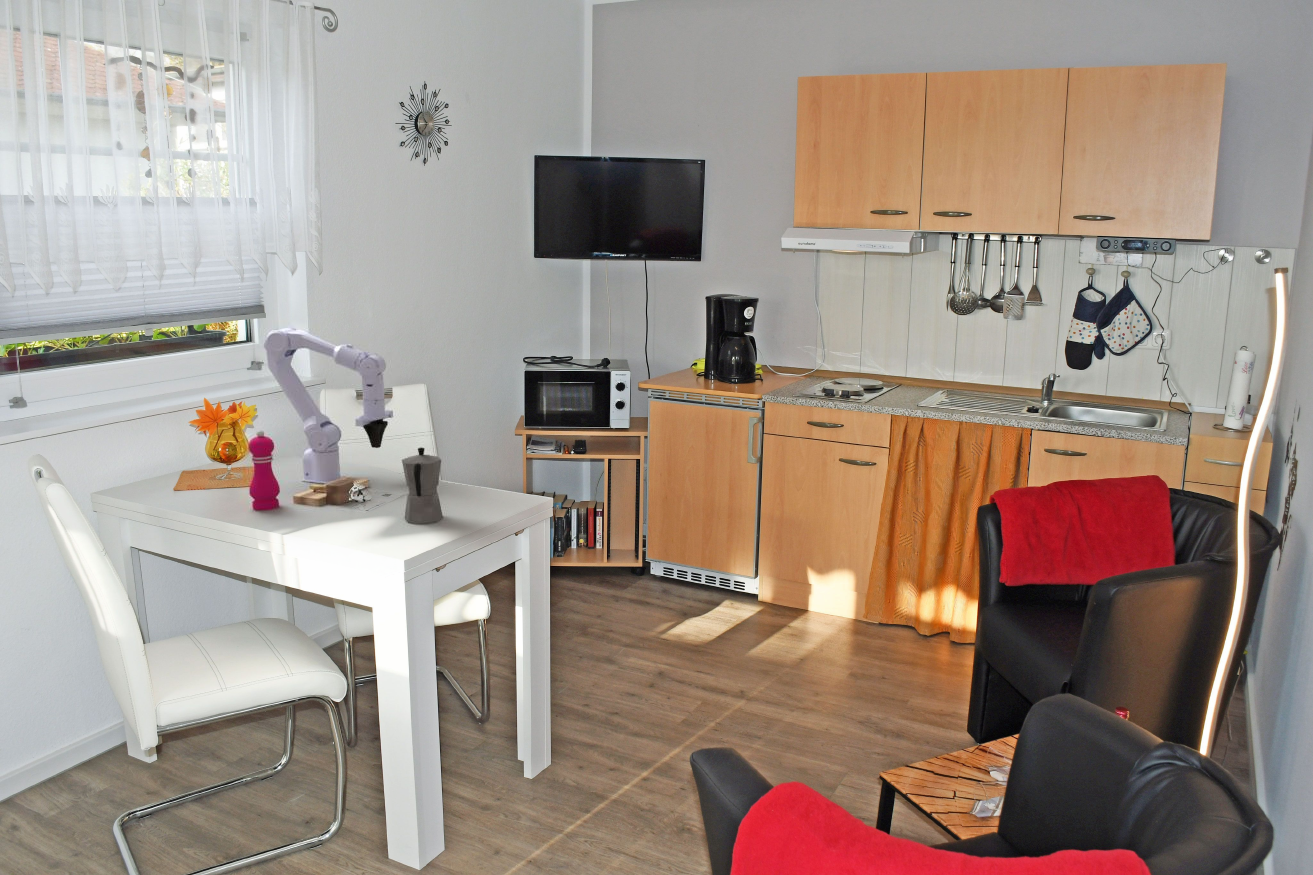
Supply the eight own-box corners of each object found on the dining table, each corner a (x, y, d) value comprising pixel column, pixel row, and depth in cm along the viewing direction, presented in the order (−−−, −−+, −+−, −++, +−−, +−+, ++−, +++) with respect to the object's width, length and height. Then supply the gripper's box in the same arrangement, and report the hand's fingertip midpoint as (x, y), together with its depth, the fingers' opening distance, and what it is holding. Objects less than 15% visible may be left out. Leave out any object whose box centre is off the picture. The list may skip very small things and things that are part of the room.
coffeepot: (408, 511, 246) (405, 441, 242) (446, 511, 247) (443, 441, 243) (398, 530, 231) (395, 456, 227) (439, 529, 232) (436, 455, 228)
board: (293, 503, 252) (292, 495, 252) (344, 483, 272) (344, 476, 271) (319, 506, 250) (318, 498, 249) (369, 486, 269) (368, 479, 269)
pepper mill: (270, 512, 244) (264, 433, 240) (244, 510, 246) (238, 432, 242) (286, 504, 251) (281, 428, 247) (261, 502, 253) (255, 426, 249)
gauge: (304, 500, 254) (303, 482, 253) (319, 495, 260) (318, 476, 259) (340, 505, 251) (338, 486, 250) (354, 499, 256) (353, 480, 255)
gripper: (370, 404, 262) (372, 453, 264) (401, 396, 275) (403, 443, 278) (347, 402, 264) (350, 451, 267) (379, 394, 277) (382, 441, 280)
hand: (376, 447), depth 272 cm, fingers closed
